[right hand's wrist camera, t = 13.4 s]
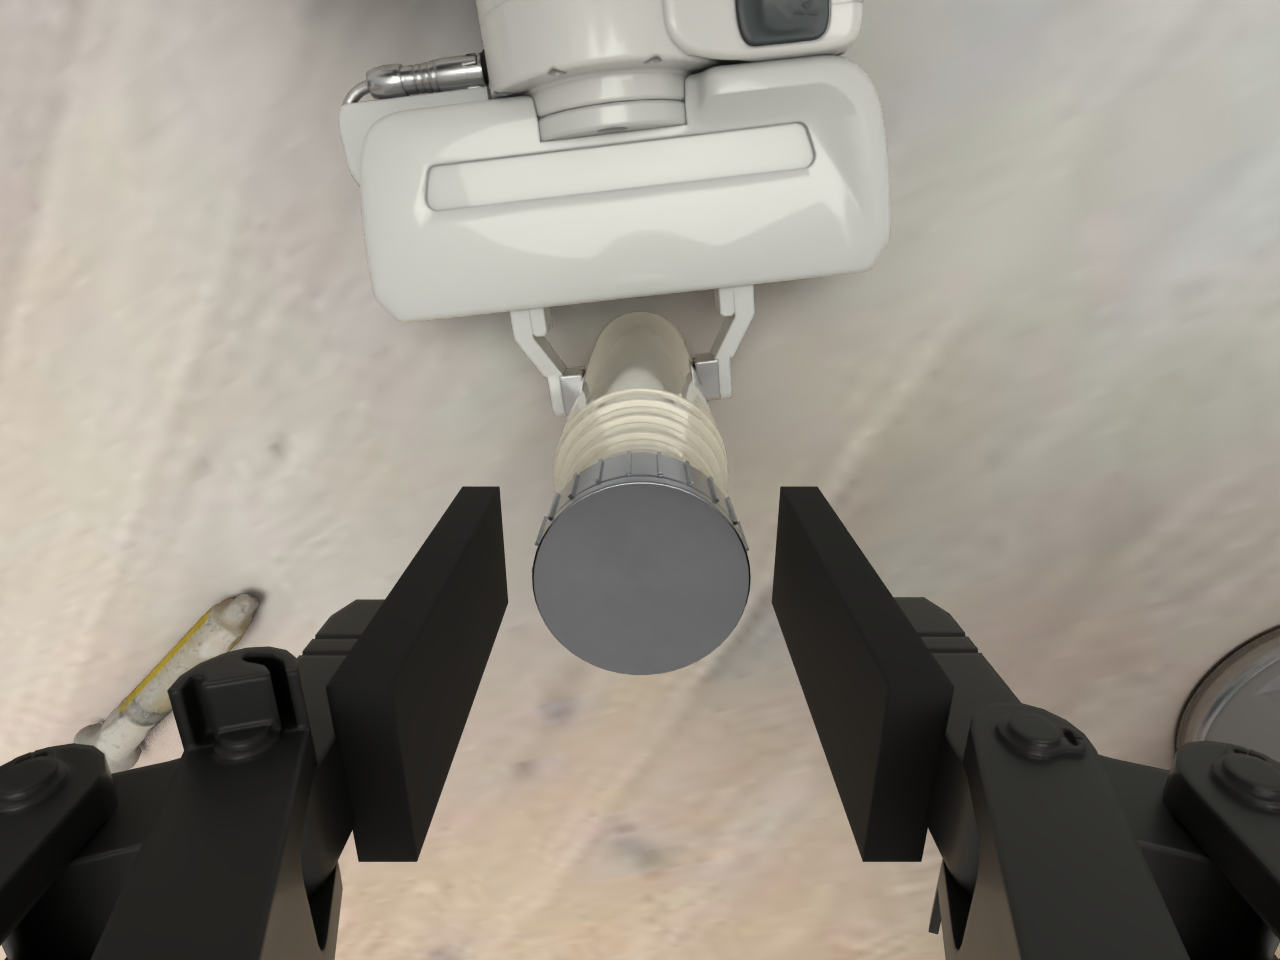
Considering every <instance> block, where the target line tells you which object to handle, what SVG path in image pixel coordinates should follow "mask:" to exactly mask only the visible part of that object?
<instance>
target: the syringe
mask: <svg viewBox="0 0 1280 960" xmlns="http://www.w3.org/2000/svg"><path fill="white" fill-rule="evenodd" d="M259 604H260V602H259V600H258V599H257V598H256V597H255V596H252V595H249V594H239V595H238V596H236V597H235V598H234V599H232V598H228V599H226V600H224V601H222V602H221V603H219V604H216V605H214V606H213V607H212V608H211V609H210V610H209V611H208V612H207V613H206V614H205V615H204V616H203V617H202V618H201V619H200V620H199V621H198V622H197V623H196V624H195V625H194V626H193V627H192V628H191V629H190V630H189V631H188V633H187V634H186V635H185V636H184V637H183V638H182V639H181V640H180V641H179V642H178V644H177V645H176V646H175V647H174V648H173V649H172V650H171V651H170V652H169V653H168V654H167V655H166V657H165V658H164V659H163V660H162V661H161V662H160V663H159V664H158V665H157V666H156V667H155V668H154V669H153V670H152V671H151V673H150V674H149V675H148V676H147V677H145V678H144V680H143V681H142V682H141V683H140V684H139V685H138V686H137V687H136V688H135V689H134V691H133V692H132V693H131V694H130V695H129V696H128V697H127V698H126V699H125V700H123V701H122V702H121V704H120V705H119V706H118V707H117V708H116V709H115V710H114V711H112V712H111V713H110V715H109V716H108V718H107V719H106V720H105V722H104V724H103V725H101V724H100V723H97V724H93V725H89V726H87V727H85V728H83V729H81V730H80V731H79V732H78V733H77V735H76V736H75V738H74V743H76V744H84V745H93V746H95V747H96V748H98V749H99V750H100V751H101V752H103V753H104V754H105V757H106V760H107V763H108V766H109V769H110V772H111V773H117V772H122V771H126V770H129V769H130V768H132V767H133V766H134V765H135V764H136V762H137V761H138V759H139V756H140V754H141V748H140V747H139V744H140V743H141V742H142V741H143V740H144V739H145V738H146V737H147V736H148V734H149V733H150V731H151V730H152V729H153V728H154V727H155V726H156V725H157V724H158V723H159V722H160V721H161V720H162V719H164V718H165V717H166V716H167V715H168V714H169V713H170V712H171V711H172V710H173V709H172V706H171V702H170V699H169V695H168V692H167V690H168V689H169V688H170V687H171V686H172V684H173V683H174V682H175V681H176V680H177V679H178V677H179V676H181V675H182V674H184V673H185V672H187V671H188V670H190V669H191V668H193V667H194V666H196V665H197V664H199V663H201V662H204V661H206V660H209V659H211V658H213V657H216V656H218V655H220V654H223V653H227V652H229V651H230V650H231V649H232V647H233V646H234V645H235V644H237V643H238V642H239V640H240V639H241V637H242V636H243V634H244V632H245V631H246V629H247V627H248V626H249V624H250V623H251V622H252V616H253V613H254V612H255V611H256V609H257V608H258V607H259Z"/></svg>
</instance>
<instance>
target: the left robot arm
mask: <svg viewBox="0 0 1280 960" xmlns="http://www.w3.org/2000/svg"><path fill="white" fill-rule="evenodd" d="M476 5H477V12H478V18H479V24H480V30H481V37H482V43H483V46H484V49H483V52H481V53H477V54H476V53H473V54H466V55H461V56H454V57H446V58H440V59H435V61H434V60H432V61H429V62H428V63H427V62H425V63H421V64H415V65H408V66H402V65H401V64H388V65H382V66H379V67H375V68H373V69H370V70H368V71H367V73H366V80H365V81H362V82H361V83H359V84H357V85H356V86H355V87H353V88H352V89H351V90H350V92H349V93H348V94H347V96H346V97H345V99H344V101H343V104H342V106H341V108H340V111H339V129H340V134H341V138H342V142H343V147H344V151H345V155H346V160H347V164H348V167H349V169H350V172H351V174H352V176H353V178H354V180H355V182H356V183H357V184H358V186H359V187H360V194H361V209H362V221H363V231H364V240H365V247H366V254H367V261H368V267H369V273H370V279H371V284H372V289H373V293H374V296H375V299H376V300H377V302H378V303H379V304H380V305H381V306H382V307H383V308H384V309H385V310H386V311H387V312H388V313H389V314H390V315H391V316H393V317H394V318H395V319H396V320H397V321H399V322H402V323H408V322H418V321H427V320H436V319H445V318H454V317H463V316H472V315H481V314H490V313H499V312H508V311H509V312H510V318H511V324H512V330H513V336H514V340H515V341H516V343H517V344H518V345H519V346H520V348H521V349H522V350H523V351H524V353H525V354H526V355H527V356H528V358H529V359H530V360H531V361H532V363H533V364H534V365H535V366H536V368H537V369H538V370H539V371H540V373H541V374H542V375H543V376H544V377H547V378H548V384H549V390H550V397H551V403H552V409H553V413H554V416H566V415H569V413H570V411H571V408H572V406H573V403H574V400H575V398H576V395H577V392H578V390H579V387H580V384H581V382H582V379H583V377H584V374H585V371H586V370H585V366H583V367H571V368H567V367H566V365H565V364H564V363H563V361H562V360H561V359H560V357H559V356H558V354H557V353H556V352H555V350H554V349H553V348H552V346H551V345H550V344H549V342H548V341H547V340H546V338H545V337H544V336H545V335H546V334H547V333H548V332H549V330H550V329H551V328H552V327H553V322H552V315H551V307H554V306H563V305H572V304H581V303H590V302H599V301H608V300H617V299H626V298H635V297H644V296H653V295H663V294H672V293H681V292H690V291H699V290H708V289H714V299H715V309H716V310H717V311H718V312H719V313H720V314H721V315H722V316H726V318H725V320H724V322H723V325H722V327H721V329H720V331H719V333H718V335H717V338H716V340H715V342H714V344H713V346H712V348H711V351H710V352H711V353H703V354H695V355H692V361H693V366H694V369H695V371H696V374H697V377H698V379H699V382H700V384H701V387H702V389H703V392H704V395H705V397H706V400H717V399H726V398H731V396H732V385H731V368H730V358H732V357H733V356H734V354H735V352H736V350H737V348H738V346H739V344H740V342H741V340H742V338H743V336H744V334H745V332H746V330H747V328H748V326H749V324H750V322H751V320H752V318H753V316H754V314H755V310H754V286H753V284H762V283H771V282H780V281H789V280H798V279H808V278H817V277H826V276H835V275H844V274H852V273H861V272H866V271H868V270H870V269H871V268H872V267H873V266H874V264H875V263H876V261H877V260H878V259H879V257H880V256H881V254H882V253H883V251H884V250H885V248H886V247H887V245H888V242H889V238H890V226H891V199H890V177H889V163H888V152H887V142H886V134H885V126H884V119H883V113H882V107H881V103H880V100H879V96H878V93H877V91H876V88H875V86H874V84H873V82H872V80H871V79H870V77H869V76H868V74H867V73H866V72H865V71H864V70H863V69H862V68H861V67H860V66H859V65H857V64H856V63H855V62H853V61H851V60H849V59H847V58H844V57H841V56H842V55H843V54H844V53H845V52H846V51H847V50H848V49H849V48H850V46H851V45H852V44H853V42H854V41H855V39H856V38H857V36H858V34H859V32H860V29H861V25H862V17H863V0H476ZM489 86H490V89H489ZM434 92H435V93H434ZM368 93H370V94H371V95H372V97H373V98H374V99H378V100H373V101H365V102H358V101H359V100H360V99H361V98H362V97H363V96H364V95H366V94H368ZM420 93H421V94H422V95H417V94H420ZM423 93H430V94H423ZM410 95H413V96H410ZM492 98H493V99H492Z"/></svg>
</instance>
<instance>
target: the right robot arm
mask: <svg viewBox="0 0 1280 960" xmlns="http://www.w3.org/2000/svg"><path fill="white" fill-rule="evenodd" d="M507 604H508V594H507V580H506V567H505V554H504V541H503V528H502V515H501V501H500V488H499V487H462V488H461V490H460V491H459V493H458V494H457V496H456V497H455V499H454V500H453V501H452V503H451V504H450V506H449V507H448V509H447V510H446V512H445V513H444V515H443V516H442V518H441V519H440V520H439V522H438V523H437V525H436V526H435V528H434V529H433V531H432V532H431V534H430V535H429V536H428V538H427V539H426V541H425V542H424V544H423V545H422V547H421V548H420V550H419V551H418V553H417V554H416V555H415V557H414V558H413V560H412V561H411V563H410V564H409V566H408V567H407V569H406V570H405V571H404V573H403V574H402V576H401V577H400V579H399V580H398V582H397V583H396V585H395V586H394V588H393V589H392V590H391V592H390V593H389V595H388V596H387V598H386V599H385V600H355V601H353V602H352V603H350V604H349V605H347V606H346V607H344V608H342V609H341V610H339V611H338V612H336V613H335V614H333V615H332V616H330V618H329V619H328V620H327V621H326V623H325V624H324V625H323V626H322V628H321V629H320V630H319V631H318V633H317V634H316V635H315V639H312V640H311V641H310V643H309V644H308V645H307V647H306V648H305V649H304V650H303V654H302V655H299V657H298V658H297V659H296V657H294V656H293V655H292V654H291V653H289V652H288V651H287V650H283V649H279V648H274V647H252V648H244V649H240V650H235V651H231V652H227V653H223V654H220V655H218V656H216V657H213V658H211V659H209V660H206V661H204V662H201V663H199V664H197V665H196V666H194V667H193V668H191V669H190V670H188V671H187V672H185V673H184V674H182V675H181V676H179V677H178V679H177V680H176V681H175V682H174V683H173V684H172V686H171V687H170V688H169V689H168V690H167V692H168V695H169V699H170V702H171V706H172V709H173V713H174V716H175V720H176V723H177V727H178V730H179V734H180V737H181V741H182V744H183V748H184V752H183V754H182V757H181V758H179V759H175V760H172V761H168V762H163V763H159V764H154V765H149V766H145V767H140V768H136V769H131V770H126V771H122V772H117V773H112V774H111V772H110V769H109V766H108V763H107V760H106V757H105V754H104V753H103V752H101V751H100V750H99V749H98V748H96V747H95V746H93V745H84V744H76V743H73V744H66V745H60V746H53V747H47V748H44V749H40V750H36V751H35V752H32V753H31V752H30V753H27V754H25V755H22V756H19V757H17V758H15V759H13V760H12V761H10V762H8V763H6V764H4V765H2V766H0V946H1V945H2V947H3V949H4V951H5V953H6V956H7V957H6V958H5V960H334V959H335V950H336V941H337V933H338V924H339V915H340V907H341V898H342V889H343V888H342V881H341V874H340V869H339V864H338V859H339V857H340V855H341V853H342V851H343V848H344V846H345V844H346V842H347V840H348V838H349V836H350V834H351V832H352V830H353V834H354V839H355V845H356V850H357V855H358V860H359V862H417V860H418V857H419V854H420V852H421V849H422V846H423V843H424V840H425V837H426V835H427V832H428V829H429V826H430V823H431V820H432V818H433V815H434V812H435V809H436V806H437V803H438V801H439V798H440V795H441V792H442V789H443V786H444V783H445V781H446V778H447V775H448V772H449V769H450V766H451V764H452V761H453V758H454V755H455V752H456V749H457V747H458V744H459V741H460V738H461V735H462V732H463V729H464V727H465V724H466V721H467V718H468V715H469V712H470V710H471V707H472V704H473V701H474V698H475V695H476V693H477V690H478V687H479V684H480V681H481V678H482V675H483V673H484V670H485V667H486V664H487V661H488V658H489V656H490V653H491V650H492V647H493V644H494V641H495V639H496V636H497V633H498V630H499V627H500V624H501V621H502V619H503V616H504V613H505V610H506V607H507ZM772 604H773V607H774V610H775V613H776V616H777V619H778V621H779V624H780V627H781V630H782V633H783V636H784V638H785V641H786V644H787V647H788V650H789V653H790V656H791V658H792V661H793V664H794V667H795V670H796V673H797V675H798V678H799V681H800V684H801V687H802V690H803V692H804V695H805V698H806V701H807V704H808V707H809V710H810V712H811V715H812V718H813V721H814V724H815V727H816V729H817V732H818V735H819V738H820V741H821V744H822V746H823V749H824V752H825V755H826V758H827V761H828V764H829V766H830V769H831V772H832V775H833V778H834V781H835V783H836V786H837V789H838V792H839V795H840V798H841V800H842V803H843V806H844V809H845V812H846V815H847V818H848V820H849V823H850V826H851V829H852V832H853V835H854V837H855V840H856V843H857V846H858V849H859V852H860V854H861V857H862V860H863V862H921V860H922V855H923V850H924V845H925V839H926V834H927V829H928V828H929V830H930V832H931V834H932V837H933V839H934V841H935V843H936V845H937V847H938V849H939V851H940V853H941V855H942V857H943V859H942V864H941V869H940V874H939V879H938V884H937V888H936V893H935V898H934V903H933V908H932V913H931V918H930V925H929V932H931V933H935V934H938V932H939V927H940V923H941V922H942V931H943V940H944V948H945V957H946V960H1280V958H1279V959H1278V958H1277V957H1276V955H1275V954H1274V953H1275V951H1276V949H1277V947H1278V945H1279V943H1280V628H1278V629H1276V630H1274V631H1272V632H1269V633H1267V634H1265V635H1263V636H1261V637H1259V638H1257V639H1255V640H1254V641H1252V642H1250V643H1249V644H1247V645H1245V646H1244V647H1242V648H1241V649H1239V650H1238V651H1236V652H1235V653H1234V654H1232V655H1231V656H1230V657H1228V658H1227V659H1226V660H1225V661H1224V662H1222V663H1221V664H1220V665H1219V666H1218V667H1217V668H1216V669H1215V670H1214V671H1213V672H1212V673H1211V674H1210V675H1209V676H1208V677H1207V678H1206V679H1205V680H1204V682H1203V683H1202V684H1201V685H1200V687H1199V688H1198V689H1197V691H1196V692H1195V693H1194V695H1193V697H1192V698H1191V700H1190V701H1189V703H1188V705H1187V707H1186V709H1185V711H1184V713H1183V716H1182V719H1181V722H1180V725H1179V729H1178V734H1177V742H1176V747H1177V751H1176V754H1175V757H1174V760H1173V763H1172V766H1171V769H1170V771H1168V770H1163V769H1159V768H1154V767H1149V766H1145V765H1140V764H1135V763H1131V762H1126V761H1121V760H1117V759H1112V758H1109V757H1105V756H1101V755H1098V753H1097V751H1096V749H1095V748H1094V746H1093V745H1092V744H1091V742H1090V741H1089V740H1088V738H1087V737H1086V735H1085V734H1084V733H1082V732H1081V731H1080V730H1078V729H1077V728H1076V727H1074V726H1073V725H1072V724H1071V723H1069V722H1068V721H1067V720H1065V719H1063V718H1061V717H1059V716H1056V715H1054V714H1052V713H1050V712H1048V711H1046V710H1044V709H1041V708H1037V707H1033V706H1030V705H1026V704H1022V703H1021V702H1020V701H1019V700H1018V698H1017V697H1016V696H1015V695H1014V693H1013V692H1012V691H1011V690H1010V688H1009V687H1008V686H1007V685H1006V683H1005V682H1004V681H1003V680H1002V678H1001V677H1000V676H999V675H998V673H997V672H996V671H995V670H994V668H993V667H992V666H991V665H990V663H989V662H988V661H987V660H986V658H985V657H984V656H983V655H982V654H981V653H978V649H977V647H976V646H975V645H974V644H973V642H972V641H971V640H970V639H969V637H965V632H964V631H963V630H962V629H961V627H960V626H959V625H958V624H957V622H956V621H955V620H954V619H953V617H952V616H951V615H950V614H949V613H948V612H946V611H944V610H943V609H941V608H940V607H938V606H937V605H935V604H934V603H932V602H930V601H929V600H927V599H926V598H924V597H893V596H892V595H891V593H890V592H889V590H888V589H887V588H886V586H885V585H884V583H883V582H882V580H881V579H880V577H879V576H878V574H877V573H876V571H875V570H874V569H873V567H872V566H871V564H870V563H869V561H868V560H867V558H866V557H865V555H864V554H863V553H862V551H861V550H860V548H859V547H858V545H857V544H856V542H855V541H854V539H853V538H852V536H851V535H850V534H849V532H848V531H847V529H846V528H845V526H844V525H843V523H842V522H841V520H840V519H839V517H838V516H837V515H836V513H835V512H834V510H833V509H832V507H831V506H830V504H829V503H828V501H827V500H826V499H825V497H824V496H823V494H822V493H821V491H820V490H819V488H818V487H781V488H780V501H779V515H778V528H777V541H776V554H775V567H774V580H773V594H772Z"/></svg>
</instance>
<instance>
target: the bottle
mask: <svg viewBox="0 0 1280 960" xmlns="http://www.w3.org/2000/svg"><path fill="white" fill-rule="evenodd" d="M627 451H631V454H633V453H651V454H657V452H661V455H664V456H668V457H671V458H675V459H678V460H680V461H682V462H685V461H686V460H687V461H689V462H690V465H691V466H693V467H694V468H696V469H698V470H699V471H701V472H702V473H703V474H705V475H706V476H707V477H709V476H712V477H713V479H714V483H715V484H716V485H717V486H718V487H719V489H720V490H721V491H722V493H723V494H724V495H725V497H726V495H727V490H728V460H727V454H726V450H725V446H724V444H723V441H722V438H721V436H720V433H719V430H718V428H717V425H716V423H715V420H714V418H713V415H712V412H711V410H710V407H709V405H708V402H707V400H706V397H705V395H704V392H703V389H702V387H701V384H700V382H699V379H698V377H697V374H696V371H695V369H694V366H693V364H692V361H691V359H690V356H689V353H688V351H687V348H686V346H685V343H684V341H683V338H682V336H681V335H680V333H679V331H678V330H677V329H676V328H675V326H674V325H673V324H672V323H670V322H669V321H668V320H666V319H665V318H663V317H661V316H659V315H657V314H654V313H650V312H631V313H627V314H624V315H622V316H619V317H618V318H616V319H614V320H613V321H612V322H610V323H609V324H608V325H607V326H606V327H605V328H604V330H603V331H602V332H601V334H600V336H599V338H598V340H597V342H596V345H595V348H594V350H593V353H592V355H591V358H590V361H589V363H588V366H587V369H586V371H585V374H584V377H583V379H582V382H581V384H580V387H579V390H578V392H577V395H576V398H575V400H574V403H573V406H572V408H571V411H570V413H569V416H568V419H567V421H566V424H565V427H564V429H563V432H562V435H561V437H560V440H559V443H558V445H557V449H556V453H555V458H554V467H553V468H554V491H555V494H556V493H560V492H561V491H562V489H563V488H564V487H565V486H566V485H567V484H568V483H569V482H570V481H571V480H572V478H573V474H575V473H576V472H577V473H578V474H579V473H580V472H582V471H583V470H585V469H586V468H588V467H590V466H592V465H593V464H595V463H597V462H598V459H600V458H602V459H603V460H605V459H608V458H611V457H615V456H619V455H624V454H627Z"/></svg>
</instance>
